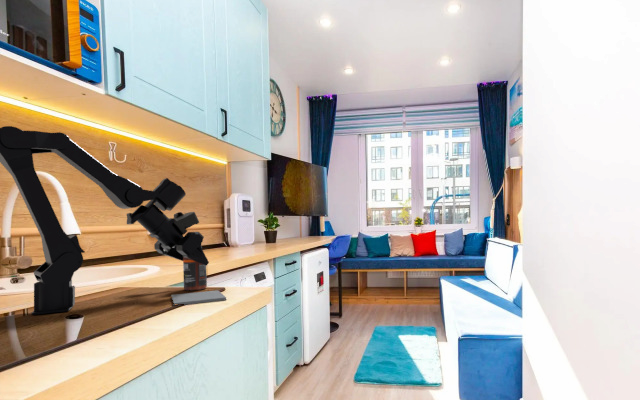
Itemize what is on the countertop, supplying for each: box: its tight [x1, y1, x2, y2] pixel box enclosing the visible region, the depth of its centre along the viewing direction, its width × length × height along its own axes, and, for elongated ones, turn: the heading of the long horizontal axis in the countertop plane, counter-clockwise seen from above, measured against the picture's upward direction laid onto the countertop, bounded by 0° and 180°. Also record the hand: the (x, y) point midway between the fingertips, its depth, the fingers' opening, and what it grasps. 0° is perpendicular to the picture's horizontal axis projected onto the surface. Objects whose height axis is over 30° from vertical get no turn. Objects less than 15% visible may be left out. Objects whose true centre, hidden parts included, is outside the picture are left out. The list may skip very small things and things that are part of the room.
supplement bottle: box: [182, 246, 208, 292], centre depth 105 cm, size 6×6×11 cm
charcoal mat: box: [170, 290, 227, 306], centre depth 91 cm, size 11×11×1 cm
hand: (199, 263), depth 106 cm, fingers open, 9 cm apart
